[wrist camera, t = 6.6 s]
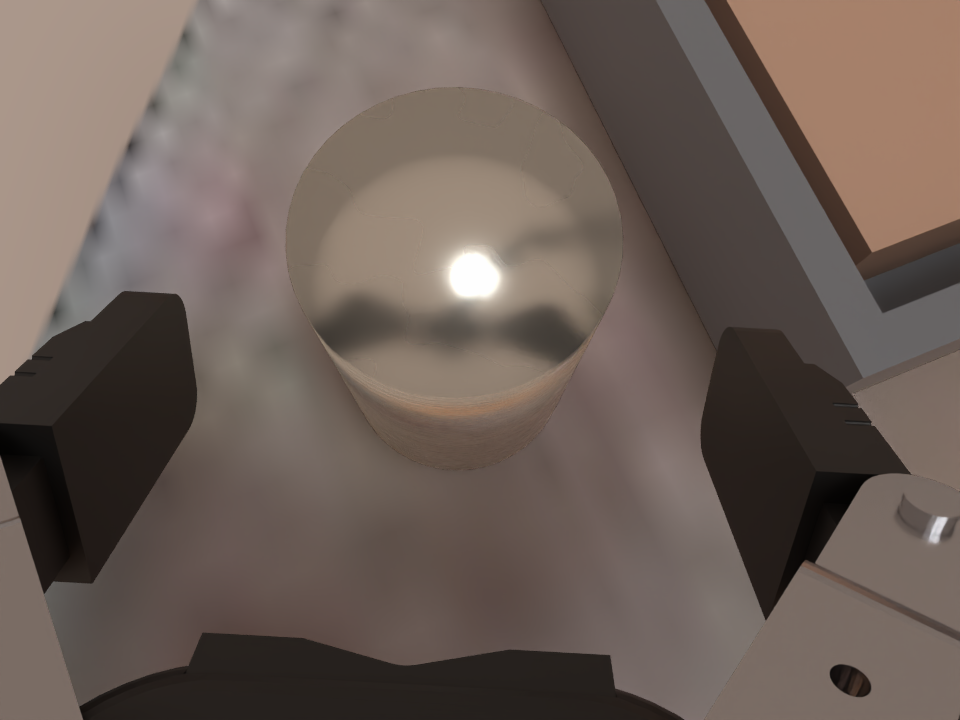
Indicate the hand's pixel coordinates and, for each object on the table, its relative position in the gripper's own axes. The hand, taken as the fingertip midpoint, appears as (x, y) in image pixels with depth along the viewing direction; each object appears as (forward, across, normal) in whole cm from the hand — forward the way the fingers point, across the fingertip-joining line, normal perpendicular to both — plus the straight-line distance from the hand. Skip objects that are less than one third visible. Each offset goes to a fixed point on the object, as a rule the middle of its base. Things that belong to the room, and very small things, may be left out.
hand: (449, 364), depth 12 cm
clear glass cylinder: (+8, 0, +4) cm, 9 cm away
